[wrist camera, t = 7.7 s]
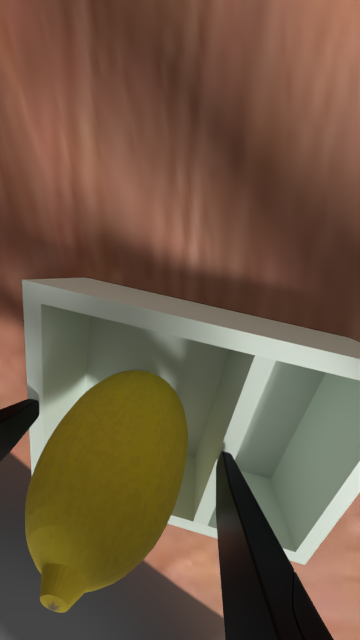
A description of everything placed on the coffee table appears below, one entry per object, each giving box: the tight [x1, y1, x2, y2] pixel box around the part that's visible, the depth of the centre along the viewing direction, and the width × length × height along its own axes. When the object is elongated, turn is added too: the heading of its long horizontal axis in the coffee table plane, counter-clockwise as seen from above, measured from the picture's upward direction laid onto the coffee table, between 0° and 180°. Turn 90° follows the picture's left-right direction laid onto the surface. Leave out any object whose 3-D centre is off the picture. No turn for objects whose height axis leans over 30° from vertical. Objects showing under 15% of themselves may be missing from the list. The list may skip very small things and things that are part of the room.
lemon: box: [25, 370, 188, 612], centre depth 8 cm, size 6×6×8 cm
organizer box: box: [22, 277, 360, 565], centre depth 10 cm, size 16×12×4 cm
